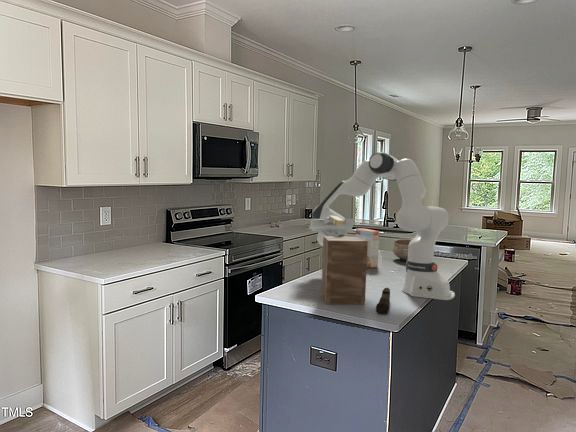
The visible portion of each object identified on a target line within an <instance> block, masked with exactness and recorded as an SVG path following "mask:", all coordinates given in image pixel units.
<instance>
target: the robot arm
mask: <svg viewBox="0 0 576 432" xmlns="http://www.w3.org/2000/svg"><path fill="white" fill-rule="evenodd" d="M379 178H381V179H383V180H388V181H393V182H394V181H395V182H397V186H398V189H399V193H400V195H401V200H402V202H401V207H400V209H399V210H398V212H397V213H396V217H395V221H396V225H397V226H398V228H399V229H401V230H403V231H409V232H416V235H415V237H414V238H412V239H413V240H411V241H410V243H409V245H408V260H407V261H405V262H406V263H405V272H406V275H405V280H404V283H403V287H402V290H401V291H402V292H404V293H406V294H407V295H409V296H411V297H416V298H422V299H423V298H425V299H433V300H443V301H449V300H452V299H454V298H455V296H456V294H455V292H454V291H453V290H451V287H450V282H449V280H448V279H447V278H445V277H444V276H443V275H442V274H441V273H440V272H439V271H438V267H439V266H438V265H439V264H438V263H435V262H434V253H435V246H436V242H437V240H438V238H439V235H440V233H441V232H442V231H443V229H444V228H446V227H447V226H448V224H449V220H450V217H449V216H450V215H449V213H448V211H447V210H446V209H445V208H443V207H440V206H435V205H432V206H431V205H428V206H427V205H425V206H424V205H423V203H422V199H424V198H425V196H426V193H427V189H426V186H425V184H424V181H423V178H422V174H421V172H420V170H419V168H418V167H417V165H416V163H415V161H414V160H413V159H410V158H402V159H400V160H399V159H397V158H396V157H394V156H393V155H391V154H389V153H387V152H384V151H376V152H374V153H373V154H371V155H370V157H369V159H365V160H363V161H362V162H361V163H360V164H359V166H358V167H357V169H355V171H354V172H353V174H352V176H351V177H349V178H348V179H346V180H342V181H341V182H339V183H338V184H337V185H336V186H335V187H334V188H333V189H332V190H331V191H330V193H329V194H328V195H327V196H326V197H325V198H324V199H323V200H322V202H321V203H320V204H318V205H317V206H316V207H314V209H313V211H312V214H311V217H312V219H311V220H310V225H309V226H308V230H311V231H313V232H318V233H317V237H316V241H317V243H318V244H319V245H320V246H322V247H323V236H348V233H350V232H351V230H352V229H353V225H354V223H353V222H354V221H353V220H352V219H346V218H345V216H343V215H341V214H340V213H338V212H336V211H334V210H333V209H331V208H330V206H331V204H332V203H333V202H334V201H335V200H336V199H337V197H338V196H340V195H347V196H351V197H362V196H364V195H366V194H367V193H369V191H370V189H371V188H372V186H373V185H374V183H375V181H376V180H377V179H379ZM329 215H332V216H337V217H339V218H341V219H343V220H344V226H336V225H335V224H333V223H332V222H331V217H329Z"/></svg>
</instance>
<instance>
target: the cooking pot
mask: <svg viewBox="0 0 576 432" xmlns="http://www.w3.org/2000/svg"><path fill="white" fill-rule="evenodd" d="M413 239H414V238H396V239H394V243H393V245H392V252H393V254H394V256H396V257H397V258H399V259H400V260H401V261H403V262H407V260H408V245H409V243H410V241H411V240H413Z"/></svg>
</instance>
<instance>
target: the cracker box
mask: <svg viewBox="0 0 576 432" xmlns="http://www.w3.org/2000/svg"><path fill="white" fill-rule="evenodd" d="M355 237H362V238H364V239H365V240H367V241H368V247H367V268H370V269H372V268H378V266H379V249H380V248H379V247H380V246H379V245H380V230H374V229H369V228H363V227H362V228H361V227H360V228H359V227H358V228H355Z"/></svg>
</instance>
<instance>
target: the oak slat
mask: <svg viewBox="0 0 576 432" xmlns="http://www.w3.org/2000/svg"><path fill="white" fill-rule="evenodd" d="M329 217H331V222H332V223H333V224H335V225H336V226H344V220H343V219H341V218H339V217H337V216H332V215H329Z"/></svg>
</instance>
